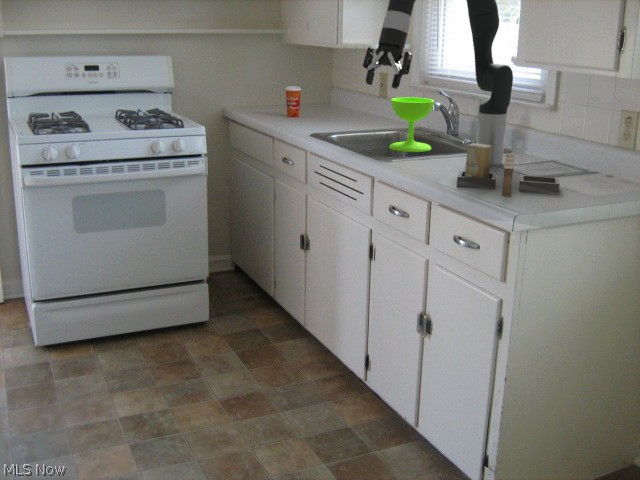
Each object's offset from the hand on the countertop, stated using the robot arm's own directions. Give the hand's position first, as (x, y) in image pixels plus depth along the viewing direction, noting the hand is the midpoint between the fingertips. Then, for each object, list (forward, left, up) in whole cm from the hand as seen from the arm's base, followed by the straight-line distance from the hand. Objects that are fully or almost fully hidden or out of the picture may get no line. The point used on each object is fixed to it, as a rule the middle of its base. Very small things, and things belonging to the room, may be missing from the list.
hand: (381, 86), depth 212 cm
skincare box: (-9, +29, -29) cm, 42 cm away
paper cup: (-129, -65, -29) cm, 148 cm away
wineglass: (-64, +1, -29) cm, 71 cm away
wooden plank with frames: (-9, +38, -29) cm, 48 cm away
